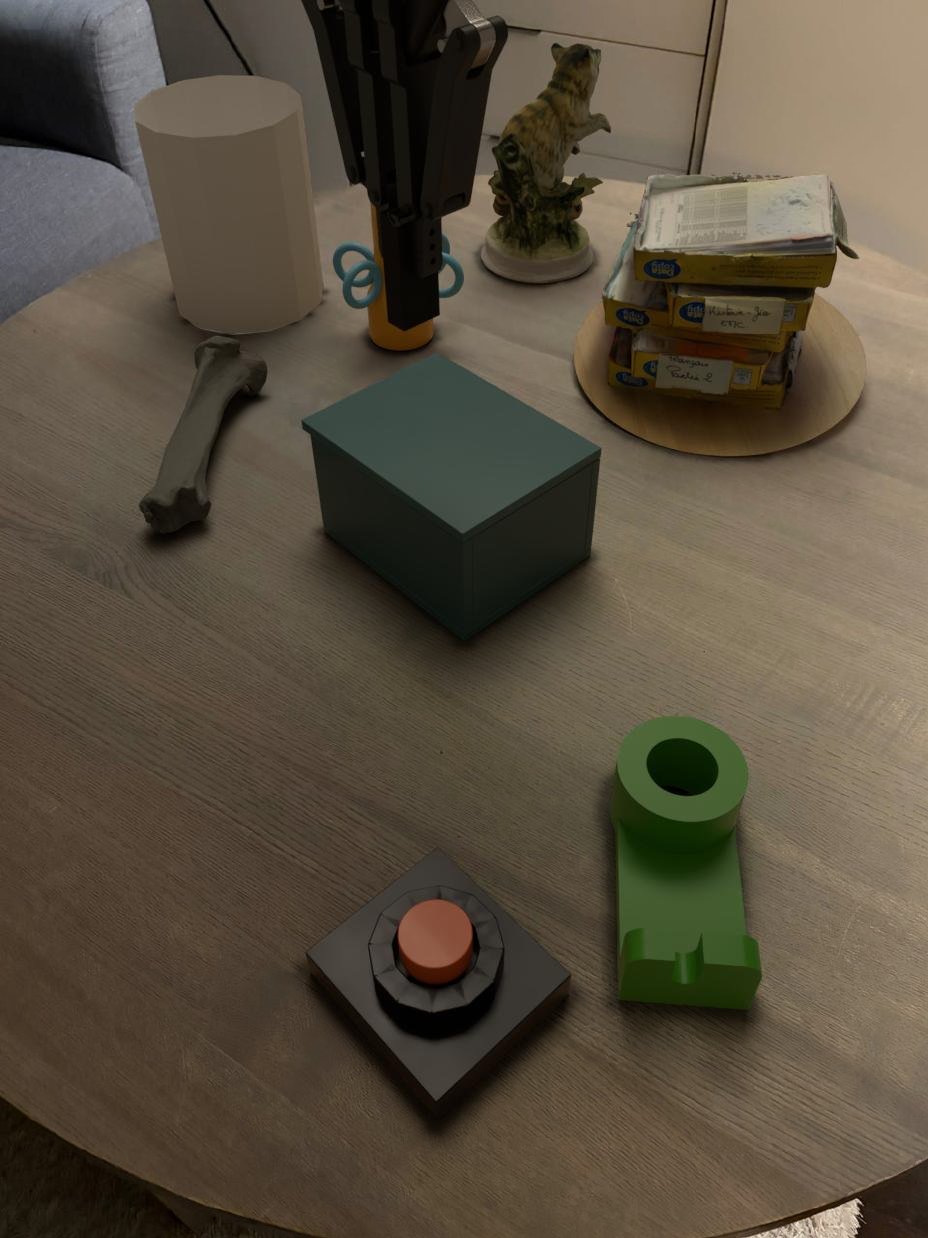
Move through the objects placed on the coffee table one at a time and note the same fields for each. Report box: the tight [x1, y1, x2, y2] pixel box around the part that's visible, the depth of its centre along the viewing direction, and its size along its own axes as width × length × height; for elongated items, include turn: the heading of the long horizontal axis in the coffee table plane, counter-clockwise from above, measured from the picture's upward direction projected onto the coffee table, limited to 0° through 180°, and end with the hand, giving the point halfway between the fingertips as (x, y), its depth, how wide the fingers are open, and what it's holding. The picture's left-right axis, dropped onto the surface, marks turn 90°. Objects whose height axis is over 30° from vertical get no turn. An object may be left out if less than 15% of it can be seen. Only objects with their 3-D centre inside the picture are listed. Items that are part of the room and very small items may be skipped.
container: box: [132, 74, 324, 335], centre depth 97 cm, size 14×14×18 cm
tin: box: [309, 434, 601, 641], centre depth 74 cm, size 16×13×9 cm
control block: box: [305, 846, 572, 1120], centre depth 52 cm, size 10×9×4 cm
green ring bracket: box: [609, 715, 763, 1011], centre depth 56 cm, size 15×7×5 cm, turn 175°
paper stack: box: [573, 170, 867, 457], centre depth 87 cm, size 25×25×17 cm
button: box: [398, 899, 473, 985], centre depth 51 cm, size 4×4×2 cm
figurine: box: [480, 42, 612, 284], centre depth 101 cm, size 12×14×20 cm
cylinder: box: [332, 201, 465, 351], centre depth 92 cm, size 12×10×15 cm
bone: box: [138, 335, 269, 535], centre depth 83 cm, size 22×6×6 cm, turn 176°
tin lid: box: [301, 351, 602, 543], centre depth 71 cm, size 16×13×1 cm
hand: (413, 318), depth 61 cm, fingers closed
